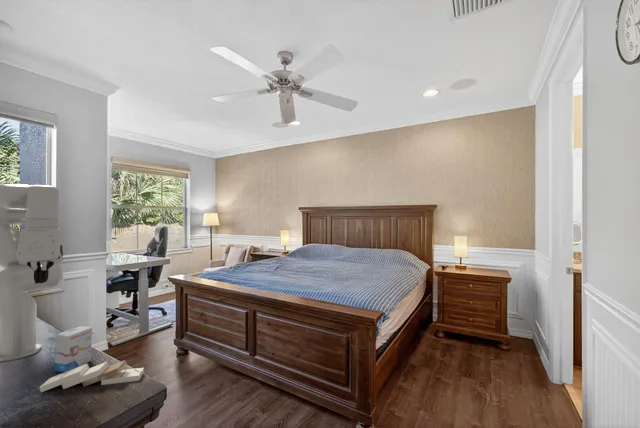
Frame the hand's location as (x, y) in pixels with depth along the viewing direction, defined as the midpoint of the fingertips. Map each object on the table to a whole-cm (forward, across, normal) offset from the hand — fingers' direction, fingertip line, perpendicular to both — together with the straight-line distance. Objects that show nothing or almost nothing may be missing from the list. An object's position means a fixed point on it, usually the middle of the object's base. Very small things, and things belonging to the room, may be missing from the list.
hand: (41, 282), depth 93 cm
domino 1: (+28, +6, -9) cm, 30 cm away
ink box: (+29, +7, +4) cm, 30 cm away
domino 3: (+28, +16, -9) cm, 34 cm away
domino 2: (+28, +11, -9) cm, 32 cm away
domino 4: (+28, +21, -9) cm, 36 cm away
